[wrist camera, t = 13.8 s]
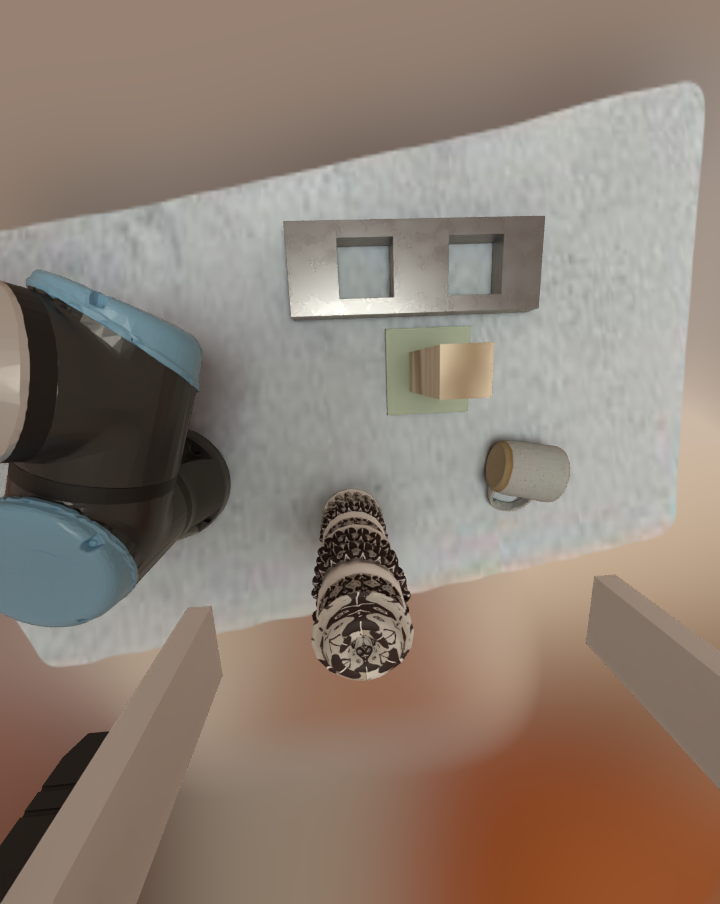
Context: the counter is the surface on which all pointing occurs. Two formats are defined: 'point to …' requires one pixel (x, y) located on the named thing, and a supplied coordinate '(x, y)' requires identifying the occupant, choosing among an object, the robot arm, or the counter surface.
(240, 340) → the counter surface
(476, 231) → the grey flat slotted plate
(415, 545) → the counter surface
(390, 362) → the mat
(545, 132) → the counter surface
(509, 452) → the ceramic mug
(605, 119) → the counter surface
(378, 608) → the decorative candle
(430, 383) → the peg
